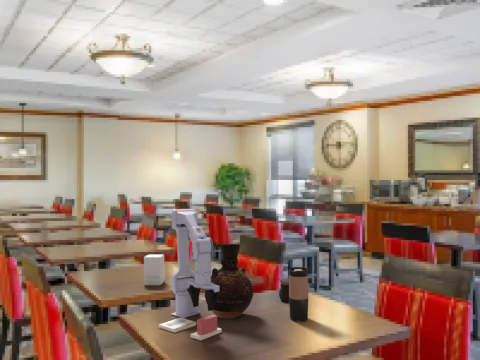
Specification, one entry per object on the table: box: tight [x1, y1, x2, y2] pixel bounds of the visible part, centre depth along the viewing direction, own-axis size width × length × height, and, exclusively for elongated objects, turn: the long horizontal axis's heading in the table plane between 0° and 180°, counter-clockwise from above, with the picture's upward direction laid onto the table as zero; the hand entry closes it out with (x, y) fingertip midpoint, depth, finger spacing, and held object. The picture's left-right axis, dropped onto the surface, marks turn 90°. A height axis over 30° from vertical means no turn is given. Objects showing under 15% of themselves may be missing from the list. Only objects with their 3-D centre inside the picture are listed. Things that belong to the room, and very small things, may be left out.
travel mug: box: [288, 266, 309, 322], centre depth 187 cm, size 8×8×20 cm
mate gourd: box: [278, 278, 289, 303], centre depth 214 cm, size 7×8×10 cm
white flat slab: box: [158, 317, 197, 333], centre depth 178 cm, size 11×9×1 cm
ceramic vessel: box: [204, 243, 254, 320], centre depth 191 cm, size 21×18×30 cm
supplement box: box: [143, 254, 166, 286], centre depth 249 cm, size 9×9×15 cm
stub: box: [190, 314, 223, 341], centre depth 169 cm, size 11×5×6 cm, turn 140°
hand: (203, 308), depth 170 cm, fingers open, 7 cm apart
